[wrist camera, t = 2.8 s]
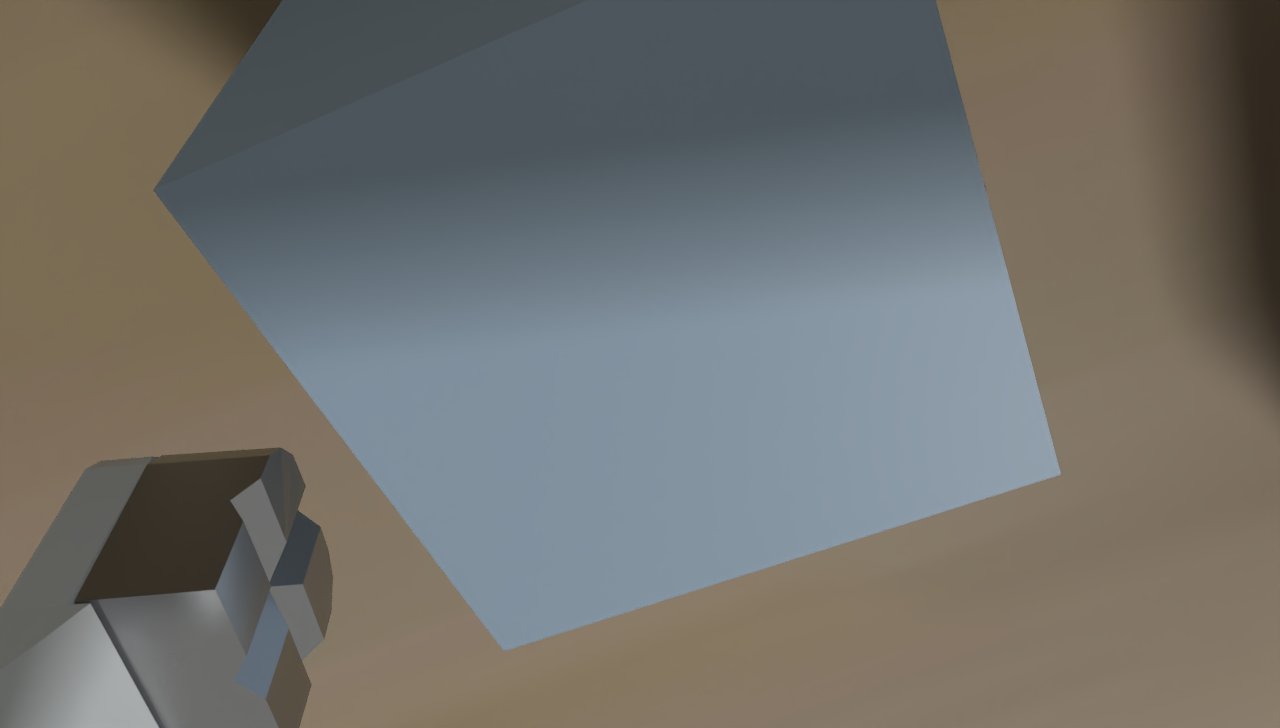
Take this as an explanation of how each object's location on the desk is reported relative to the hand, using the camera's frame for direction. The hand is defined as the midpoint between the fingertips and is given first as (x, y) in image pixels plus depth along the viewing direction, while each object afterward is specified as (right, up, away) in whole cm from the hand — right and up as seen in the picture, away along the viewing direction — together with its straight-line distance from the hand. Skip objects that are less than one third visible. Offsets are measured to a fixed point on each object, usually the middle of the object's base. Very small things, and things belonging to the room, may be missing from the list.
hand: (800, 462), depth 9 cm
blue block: (-1, +4, +4) cm, 6 cm away
